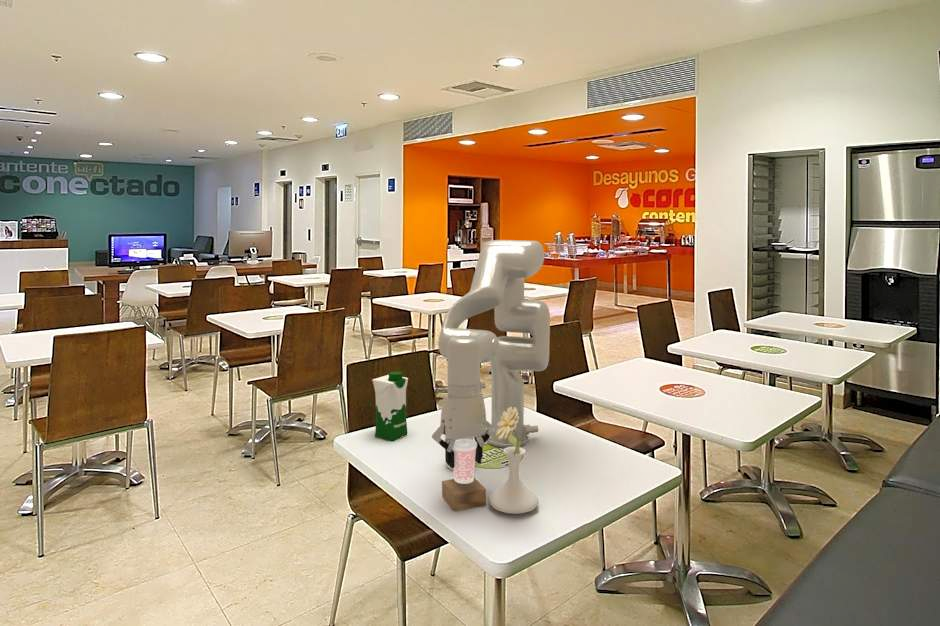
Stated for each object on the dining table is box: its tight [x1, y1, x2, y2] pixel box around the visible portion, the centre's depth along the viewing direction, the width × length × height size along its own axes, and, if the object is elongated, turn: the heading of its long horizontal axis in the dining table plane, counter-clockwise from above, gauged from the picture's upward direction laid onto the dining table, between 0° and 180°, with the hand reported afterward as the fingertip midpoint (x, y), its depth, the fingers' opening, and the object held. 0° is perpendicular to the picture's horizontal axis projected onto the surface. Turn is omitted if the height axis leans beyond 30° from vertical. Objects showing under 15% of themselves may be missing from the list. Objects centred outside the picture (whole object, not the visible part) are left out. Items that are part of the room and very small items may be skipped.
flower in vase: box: [488, 407, 539, 515], centre depth 144 cm, size 13×11×25 cm
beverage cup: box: [453, 439, 477, 484], centre depth 148 cm, size 6×6×14 cm
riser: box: [441, 476, 487, 512], centre depth 150 cm, size 8×8×4 cm
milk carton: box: [372, 370, 409, 442], centre depth 191 cm, size 9×9×20 cm
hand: (464, 463), depth 149 cm, fingers closed on beverage cup, 6 cm apart
